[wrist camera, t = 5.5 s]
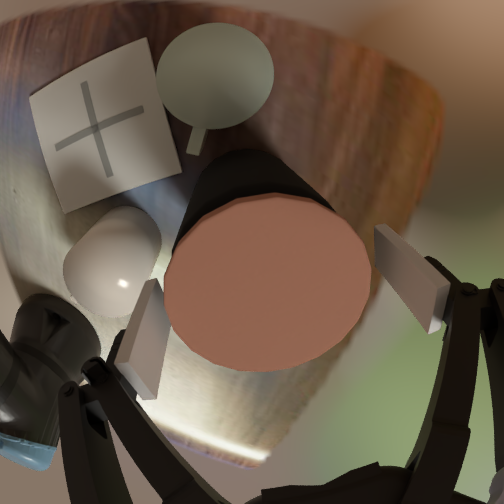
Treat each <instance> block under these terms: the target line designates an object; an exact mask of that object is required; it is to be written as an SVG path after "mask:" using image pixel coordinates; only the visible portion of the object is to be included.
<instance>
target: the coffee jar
mask: <svg viewBox="0 0 504 504" xmlns="http://www.w3.org/2000/svg"><path fill="white" fill-rule="evenodd" d="M370 280H371V266H370V263H369V259H368V256H367V252H366V249H365V245H364V242H363V241H362V239H361V238H360V237H359V236H358V234H357V233H356V232H355V231H354V229H353V228H352V227H351V226H350V224H349V223H348V222H347V221H346V219H345V218H343V217H342V216H340V215H339V214H337V213H336V211H335V210H334V209H333V208H332V207H331V206H330V204H329V203H328V202H327V201H326V200H325V199H324V198H323V197H322V196H321V195H320V194H319V193H317V192H316V191H315V190H314V189H313V188H312V187H311V186H310V185H309V184H307V183H306V182H305V181H304V180H303V179H302V178H301V177H300V176H298V175H297V174H296V173H295V172H294V171H293V170H291V169H290V168H289V167H288V166H287V165H286V164H284V163H283V162H282V161H281V160H280V159H278V158H276V157H274V156H272V155H270V154H268V153H266V152H264V151H258V150H252V149H243V150H237V151H231V152H228V153H226V154H224V155H222V156H220V157H219V158H217V159H215V160H214V161H213V162H212V163H211V164H210V165H209V166H208V167H207V168H206V169H205V170H204V171H203V172H202V174H201V176H200V178H199V180H198V182H197V184H196V187H195V189H194V192H193V194H192V197H191V199H190V202H189V205H188V207H187V210H186V213H185V215H184V218H183V221H182V224H181V226H180V229H179V232H178V235H177V238H176V240H175V243H174V246H173V249H172V258H171V260H170V262H169V265H168V267H167V270H166V272H165V275H164V307H165V310H166V312H167V315H168V318H169V320H170V323H171V325H172V327H173V330H174V331H175V333H176V334H177V335H178V336H179V337H180V338H181V339H182V341H183V342H184V343H185V344H186V345H187V346H188V347H189V348H190V349H191V350H192V351H193V352H195V353H197V354H198V355H200V356H202V357H203V358H205V359H207V360H209V361H210V362H212V363H214V364H217V365H220V366H224V367H227V368H231V369H235V370H238V371H254V372H269V371H275V370H280V369H286V368H291V367H295V366H297V365H300V364H302V363H305V362H307V361H309V360H312V359H314V358H316V357H319V356H320V355H322V354H323V353H325V352H326V351H327V350H329V349H330V348H331V347H333V346H334V345H336V344H337V343H338V342H340V341H341V340H342V339H343V338H344V336H345V335H346V334H347V333H348V332H349V331H350V329H351V328H352V327H353V326H354V325H355V323H356V322H357V321H358V320H359V317H360V315H361V313H362V311H363V308H364V306H365V304H366V302H367V299H368V297H369V291H370Z"/></svg>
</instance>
